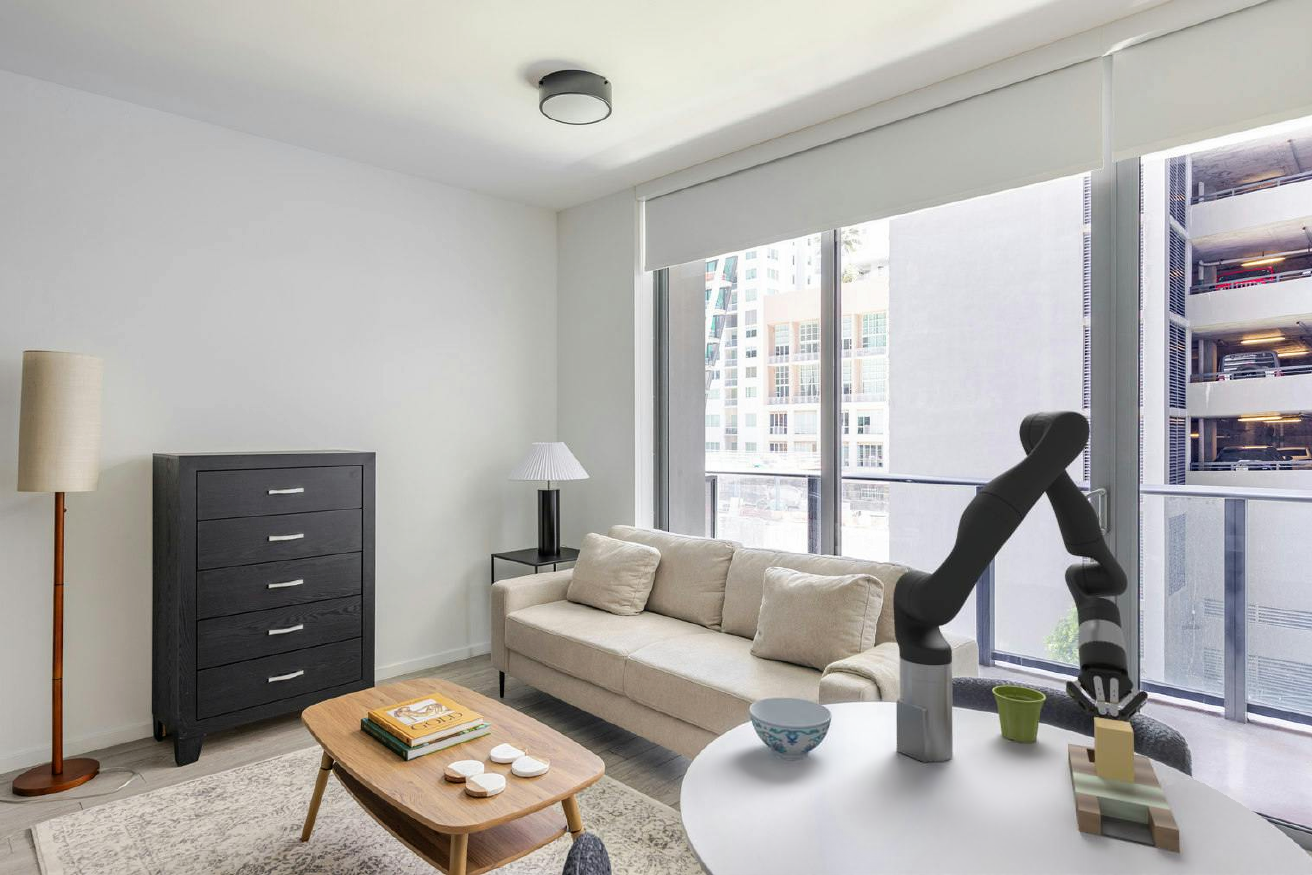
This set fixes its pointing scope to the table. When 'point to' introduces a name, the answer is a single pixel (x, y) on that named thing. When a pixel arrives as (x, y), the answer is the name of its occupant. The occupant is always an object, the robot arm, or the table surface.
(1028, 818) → the table surface
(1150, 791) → the box
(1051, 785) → the table surface
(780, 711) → the chinaware
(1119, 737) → the ochre block
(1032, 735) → the plant pot
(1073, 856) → the table surface
